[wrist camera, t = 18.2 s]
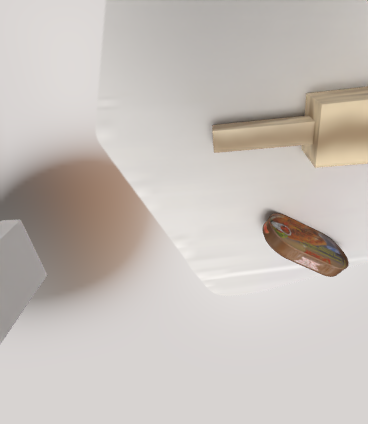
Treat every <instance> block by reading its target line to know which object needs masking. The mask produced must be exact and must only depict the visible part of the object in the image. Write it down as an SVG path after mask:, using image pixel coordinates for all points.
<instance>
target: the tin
mask: <svg viewBox="0 0 368 424" xmlns="http://www.w3.org/2000/svg"><path fill="white" fill-rule="evenodd" d="M263 234H264V237H265V240H266V241H267V243H268V244H269V245H270V247H271V248H272V249H273V250H274V251H276V252H277V253H278V254H280V255H281V256H283V257H284V258H286V259H289V260H291V261H293V262H295V263H297V264H300V265H302V266H304V267H306V268H309V269H311V270H313V271H315V272H318V273H320V274H322V275H325V276H330V277H333V276H336V275H337V274H339V273H340V272H341V271H342V270H344V269H346V268H347V267H348V259H347V257H346V255H345V254H344V252H343V251H342V250H341V248H340V247H339V246H338V245H337V244H336V243H335V242H334V241H333V240H332V239H330V238H329V237H328V236H326V235H325V234H323V233H321V232H319V231H317V230H315V229H313V228H311V227H308V226H306V225H304V224H302V223H300V222H298V221H296V220H294V219H292V218H290V217H288V216H285V215H283V214H277V213H276V214H272V215H271V216H270V218H269V219H268V220H267V222H266V223H265V224H264V226H263Z"/></svg>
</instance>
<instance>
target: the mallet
mask: <svg viewBox="0 0 368 424" xmlns="http://www.w3.org/2000/svg"><path fill="white" fill-rule="evenodd" d="M212 132H213V146H214V153H218V152H229V151H241V150H252V149H263V148H275V147H286V146H297V145H302V150H303V151H304V153H305V154H306V156H307V157H308V158H309V160H310V161H311V163H312V164H313V165H314V167H315V168H318V167H330V166H343V165H356V164H368V87H359V88H350V89H340V90H331V91H322V92H313V93H306V105H305V116H298V117H288V118H278V119H268V120H258V121H248V122H238V123H228V124H218V125H212Z"/></svg>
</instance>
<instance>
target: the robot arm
mask: <svg viewBox="0 0 368 424" xmlns="http://www.w3.org/2000/svg"><path fill="white" fill-rule="evenodd" d="M46 276H47V273H46V271H45V269H44V267H43V265H42V263H41V261H40V259H39V257H38V255H37V253H36V251H35V248H34V246H33V245H32V242H31V240H30V238H29V236H28V234H27V232H26V230H25V228H24V226H23V224H22V222H21V220H3V221H1V222H0V344H1V342H2V341H3V339H4V338H5V337H6V335H7V334H8V332H9V331H10V329H11V328H12V326H13V325H14V323H15V322H16V320H17V319H18V317H19V316H20V314H21V313H22V311H23V310H24V308H25V307H26V305H27V304H28V303H29V301H30V300H31V298H32V297H33V295H34V294H35V292H36V291H37V289H38V288H39V286H40V285H41V283H42V282H43V280H44V279H45V277H46Z"/></svg>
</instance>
